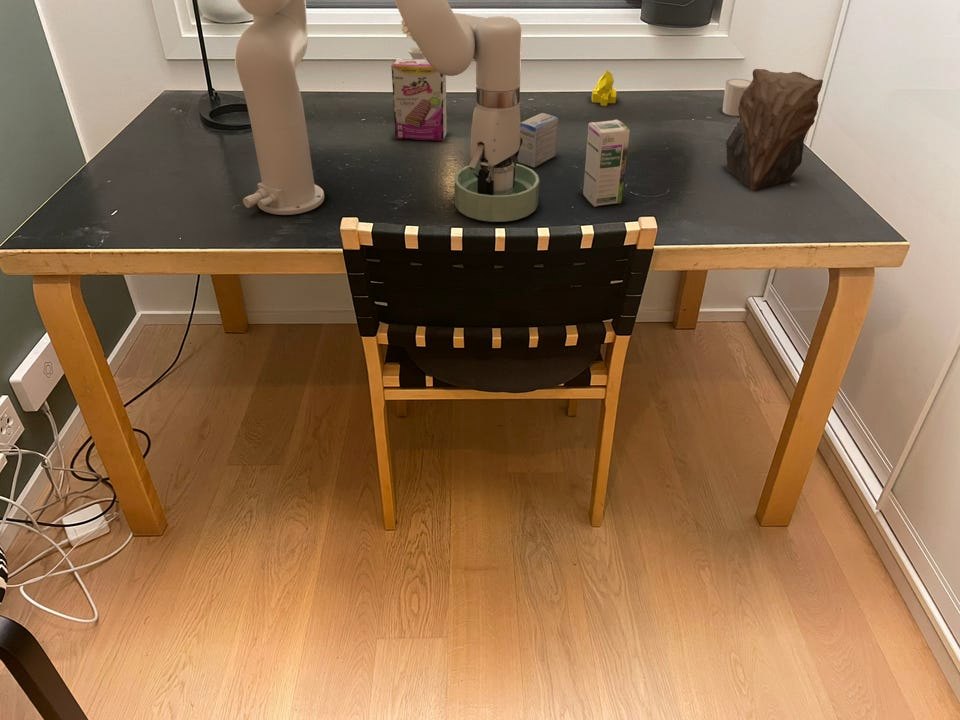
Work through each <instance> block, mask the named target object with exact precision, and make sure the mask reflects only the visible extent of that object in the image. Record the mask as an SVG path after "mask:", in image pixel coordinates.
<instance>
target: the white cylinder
mask: <svg viewBox="0 0 960 720" xmlns="http://www.w3.org/2000/svg"><path fill="white" fill-rule="evenodd" d="M751 82H752V80H748V79H743V78H731V79H727V80H726V81H725V85H724V94H723V102H722V112H723V113H724V114H725V115H727V116H731V117H732V116H733V117H740V116H739V111H738V107H739V105H740V99H741V97H742V95H743V91H745V90H746V89H747V88H748V86H749V85H750V83H751Z"/></svg>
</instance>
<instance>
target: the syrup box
mask: <svg viewBox="0 0 960 720" xmlns="http://www.w3.org/2000/svg"><path fill="white" fill-rule="evenodd" d="M630 134H631V133H630V128H629V127H628V126H627V125H626V124H624V123H623V122H622V121H621V120H618V119H612V120H605V121H604V120H603V121H595V122H594V121H592V122H588V126H587V140H586V151H585V165H584V175H583V176H584V178H583V189H582V190H583V191H582V195H583V196H584V198H585V199H586V200H587V201H588V203H590V204H591V205H592V207H594V208H595V207H596V208H597V207H600V206H607V205H615V204H621V203H622V201H623V191H624V185H625V184H624V183H625V175H626V167H627V159H628V158H627V157H628V148H629V140H630Z"/></svg>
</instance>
